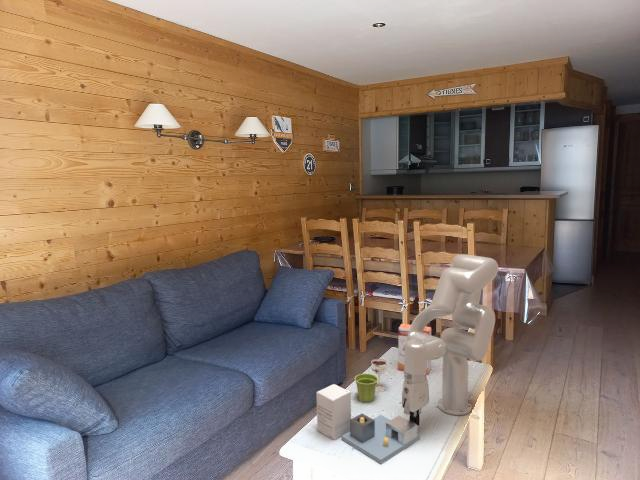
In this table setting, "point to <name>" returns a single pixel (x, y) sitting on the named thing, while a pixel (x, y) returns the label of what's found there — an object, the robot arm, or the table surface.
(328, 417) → the supplement box
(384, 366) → the wineglass
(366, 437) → the block
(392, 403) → the table surface
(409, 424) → the housing cover
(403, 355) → the cracker box
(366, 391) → the plant pot
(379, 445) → the assembly board
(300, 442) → the table surface
